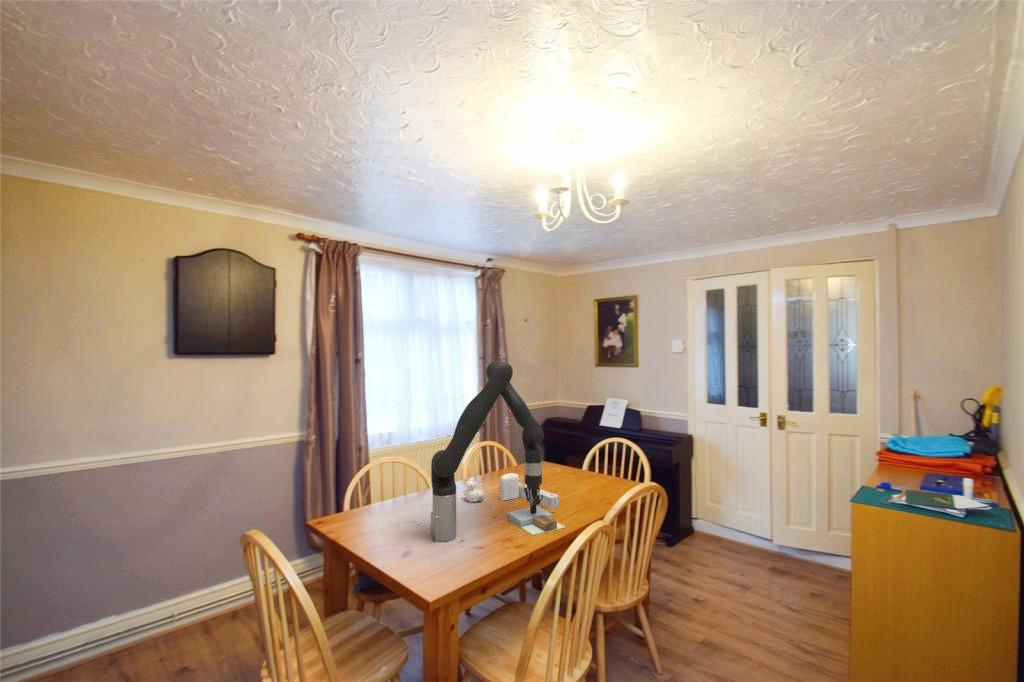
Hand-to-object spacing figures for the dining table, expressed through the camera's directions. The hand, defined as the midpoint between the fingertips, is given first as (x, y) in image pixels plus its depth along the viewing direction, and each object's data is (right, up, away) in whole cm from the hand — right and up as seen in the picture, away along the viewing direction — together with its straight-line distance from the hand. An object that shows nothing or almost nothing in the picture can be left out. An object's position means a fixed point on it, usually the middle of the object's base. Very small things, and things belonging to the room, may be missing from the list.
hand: (533, 513), depth 188 cm
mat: (+4, -3, -7) cm, 9 cm away
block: (+4, -3, -6) cm, 8 cm away
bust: (-28, -5, +26) cm, 39 cm away
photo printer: (-10, -5, +30) cm, 32 cm away
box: (+2, -5, +28) cm, 28 cm away
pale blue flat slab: (-1, -4, +3) cm, 5 cm away
